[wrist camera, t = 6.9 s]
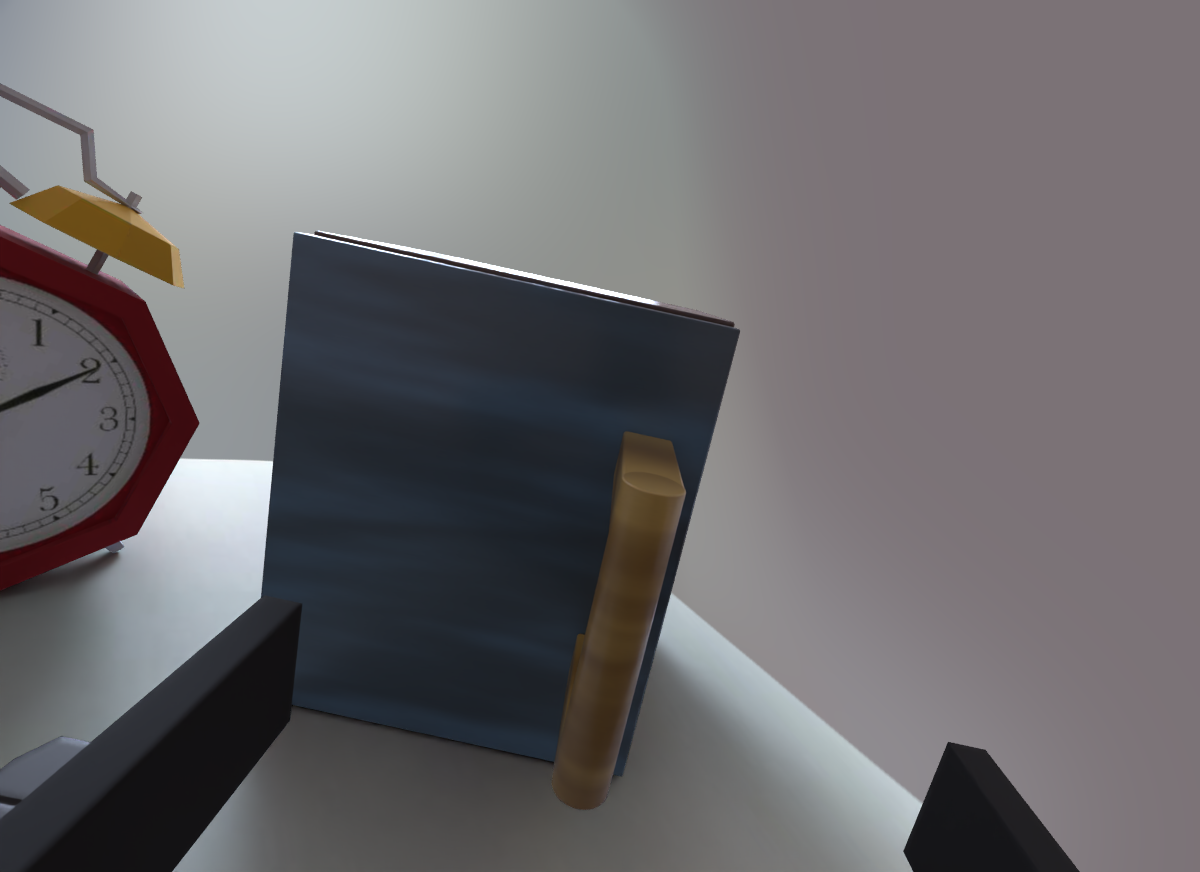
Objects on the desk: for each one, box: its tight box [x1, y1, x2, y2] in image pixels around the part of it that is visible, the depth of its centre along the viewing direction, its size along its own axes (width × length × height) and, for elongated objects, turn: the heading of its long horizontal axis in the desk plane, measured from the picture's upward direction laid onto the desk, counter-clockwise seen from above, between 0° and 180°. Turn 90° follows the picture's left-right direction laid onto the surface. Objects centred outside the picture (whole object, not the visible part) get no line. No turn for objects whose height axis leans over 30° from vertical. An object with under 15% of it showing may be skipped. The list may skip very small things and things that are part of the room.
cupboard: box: [314, 231, 735, 327], centre depth 27 cm, size 11×14×17 cm
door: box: [261, 232, 740, 810], centre depth 19 cm, size 7×14×17 cm, turn 88°
